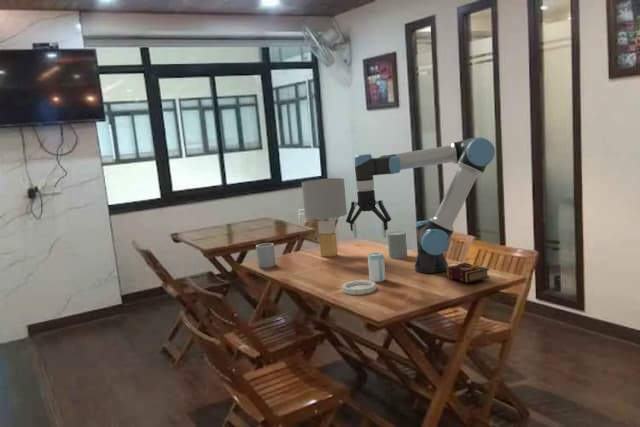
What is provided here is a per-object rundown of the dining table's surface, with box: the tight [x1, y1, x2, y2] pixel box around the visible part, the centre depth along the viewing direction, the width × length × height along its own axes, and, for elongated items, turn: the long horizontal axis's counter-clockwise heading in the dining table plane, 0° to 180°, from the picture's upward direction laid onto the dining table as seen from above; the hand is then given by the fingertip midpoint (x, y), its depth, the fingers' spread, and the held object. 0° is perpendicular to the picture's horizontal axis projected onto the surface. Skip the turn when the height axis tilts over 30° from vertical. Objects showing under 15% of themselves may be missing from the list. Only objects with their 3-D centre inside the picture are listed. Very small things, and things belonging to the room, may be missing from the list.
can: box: [367, 252, 386, 283], centre depth 245 cm, size 7×7×12 cm
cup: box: [255, 242, 276, 269], centre depth 290 cm, size 9×9×12 cm
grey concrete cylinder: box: [386, 231, 408, 260], centre depth 288 cm, size 10×10×12 cm
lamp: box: [301, 177, 348, 258], centre depth 300 cm, size 23×23×42 cm
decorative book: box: [445, 262, 490, 283], centre depth 238 cm, size 11×16×5 cm
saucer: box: [341, 279, 377, 296], centre depth 233 cm, size 14×14×2 cm
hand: (369, 237), depth 245 cm, fingers open, 13 cm apart
